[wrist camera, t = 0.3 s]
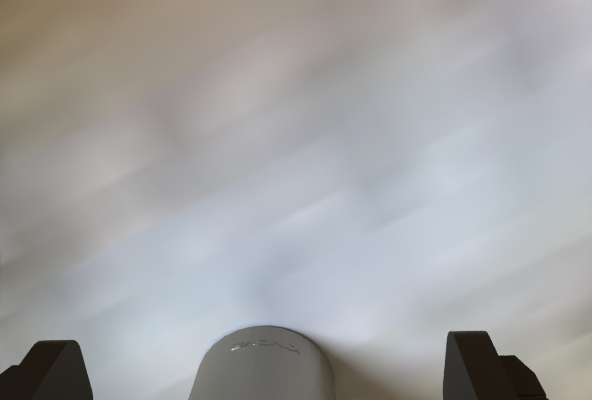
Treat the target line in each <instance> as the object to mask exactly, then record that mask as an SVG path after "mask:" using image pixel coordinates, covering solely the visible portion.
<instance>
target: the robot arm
mask: <svg viewBox="0 0 592 400" xmlns="http://www.w3.org/2000/svg"><path fill="white" fill-rule="evenodd" d="M0 400H93V393H92V389H91V385H90V382H89V378H88V374H87V371H86V367H85V363H84V360H83V356H82V352H81V349H80V346H79V344H78V343H77V341H75V340H48V341H38V342H37V343H35V344H34V346H33V347H32V348H31V349H30V351H29V352H28V354H27V355H26V356H25V358H24V359H23V360H22V362H21V363H20V364H19V365H12V366H10V367H9V368H8V369H7V370H5V371H4V372H3V373H1V374H0ZM188 400H336V394H335V383H334V377H333V372H332V370H331V367H330V365H329V363H328V361H327V359H326V358H325V356H324V355H323V354H322V352H321V351H320V350H319V349H318V348H317V347H316V346H315V345H314V344H313V343H312V342H310V341H309V340H307V339H306V338H304V337H302V336H301V335H299V334H297V333H295V332H292V331H289V330H286V329H283V328H277V327H270V326H259V327H250V328H245V329H241V330H237V331H235V332H233V333H231V334H229V335H227V336H225V337H223V338H222V339H221V340H219V341H218V342H217V343H215V344H214V345H213V346H212V347H211V349H210V350H209V351H208V352H207V353H206V354H205V356H204V358H203V360H202V362H201V364H200V366H199V369H198V372H197V375H196V378H195V381H194V384H193V387H192V390H191V393H190V396H189V399H188ZM443 400H549V399H547V398H546V394H545V392H544V390H543V388H542V386H541V384H540V382H539V381H538V379H537V377H536V375H535V373H534V372H533V371H532V370H530V369H529V368H528V367H527V366H526V365H525V364H524V363H523V362H521V361H520V360H519V359H518V358H517V357H516V356H515V355H509V356H498V354H497V351H496V349H495V347H494V345H493V343H492V341H491V339H490V337H489V335H488V333H487V332H486V331H450V332H449V333H448V336H447V345H446V357H445V368H444V380H443Z"/></svg>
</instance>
